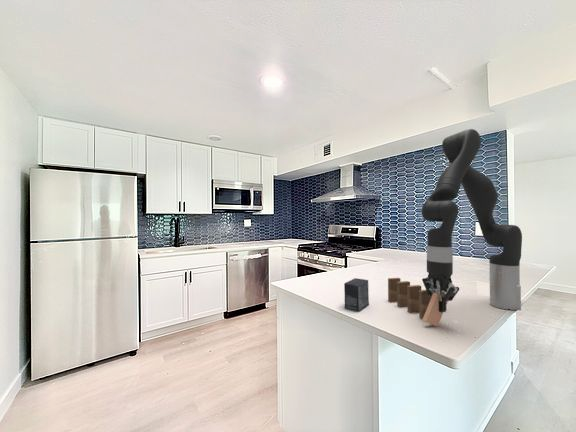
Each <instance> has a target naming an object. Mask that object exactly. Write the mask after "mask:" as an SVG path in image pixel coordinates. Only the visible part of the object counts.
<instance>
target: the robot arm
mask: <svg viewBox="0 0 576 432" xmlns="http://www.w3.org/2000/svg"><path fill="white" fill-rule="evenodd" d="M441 144H442V145H441V146H442V150H443V153H444V155H445V157H446V159H447V161H448V162H449V165H448V166H447V167H446V168H445V169H444V170H443V172H442V173H441V175H439V178H438V180H437V183H436V185H435V187H434V190H433V191H432V192H431V194H430V195H429V196H428V198H427V199H426V200H425V201H424V203H423V205H422V208H421V216H422V218H423V219H424V221H427V222H433V223H434V222H437V223H438V222H439V223H440V222H442V223H441V225H440V226H439V227H436V228H431V229H428V231H427V249H426V272H427V274H428V275H427V277H423V278H422V279H421V280H422V283H423V286H424V288H425V290H426V291H427V293H428V295H431V296H432V295H433V293H437V294H438V298H439V312H443V313H446V311H447V305H446V302H447V301H448V302H451V301H453V300H454V298H455V297H456V295H457V294H458V292H459V291H460V287H459V286H455V285H454V284H453V280H452V275H453V272H454V271H453V269H454V265H453V264H454V261H453V260H454V257H453V256H454V254H453V248H452V247H453V245H452V241H453V238H452V237H453V231H454V227H455V225H456V222H457V219H458V215H459V206H458V205H457V203H456V202H455V201H454V200H455V199H456V198H457V197H458V194H459V191H460V189H461V186H462V188H463V191H464V193H465V195H466V197H467V199H468V201H469V204H470V205H471V207H472V209H473V212H474V215H475V217H476V219H477V221H478V224H479V227H480V228H479V229H480V232H481V234H482V236H483V239H484V240H485V242H486V243H487V245H489V246H492V247H496V248H497V247H498V248H503V249H502V251H501V253H498V254H493V255H490V256H489V265H488V266H489V305H491V306H493V307H496V308H498V309H503V310H508V309H510V310H509V311H522V297H521V296H522V286H521V283H520V281H521V280H520V277H521V275H520V273H521V272H520V271H521V270H520V269H521V268H520V265H521V264H520V263H521V258H522V247H523V246H522V244H523V234H522V230H521V228H520V227H519V226H518V225H516V224H498V223H497V222H496V221H495V218H494V214H493V213H494V210H495V208H496V205H497V202H498V197H499V196H498V195H499V194H498V192H497V189H496V187H495V184H494V183H493V181H492V180H491V178H489V177H488V175H485V174H484V173H482V172H481V171H480V170H477V169H476V168H474V167H473V166H471V165H472V163H473V162H474V159H475V158H476V156H477V154H478V152H479V150H480V148H481V145H482V138H481V136H480V134H479V132H478V131H477V130H476V129H474V128H470V129H465V130H463V131H460V132H457V133H455V134H451V135H449V136H447V137H445V138H444V139H443V140H442V143H441ZM429 288H430V289H431V291H430V289H429ZM448 302H447V303H448Z"/></svg>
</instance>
